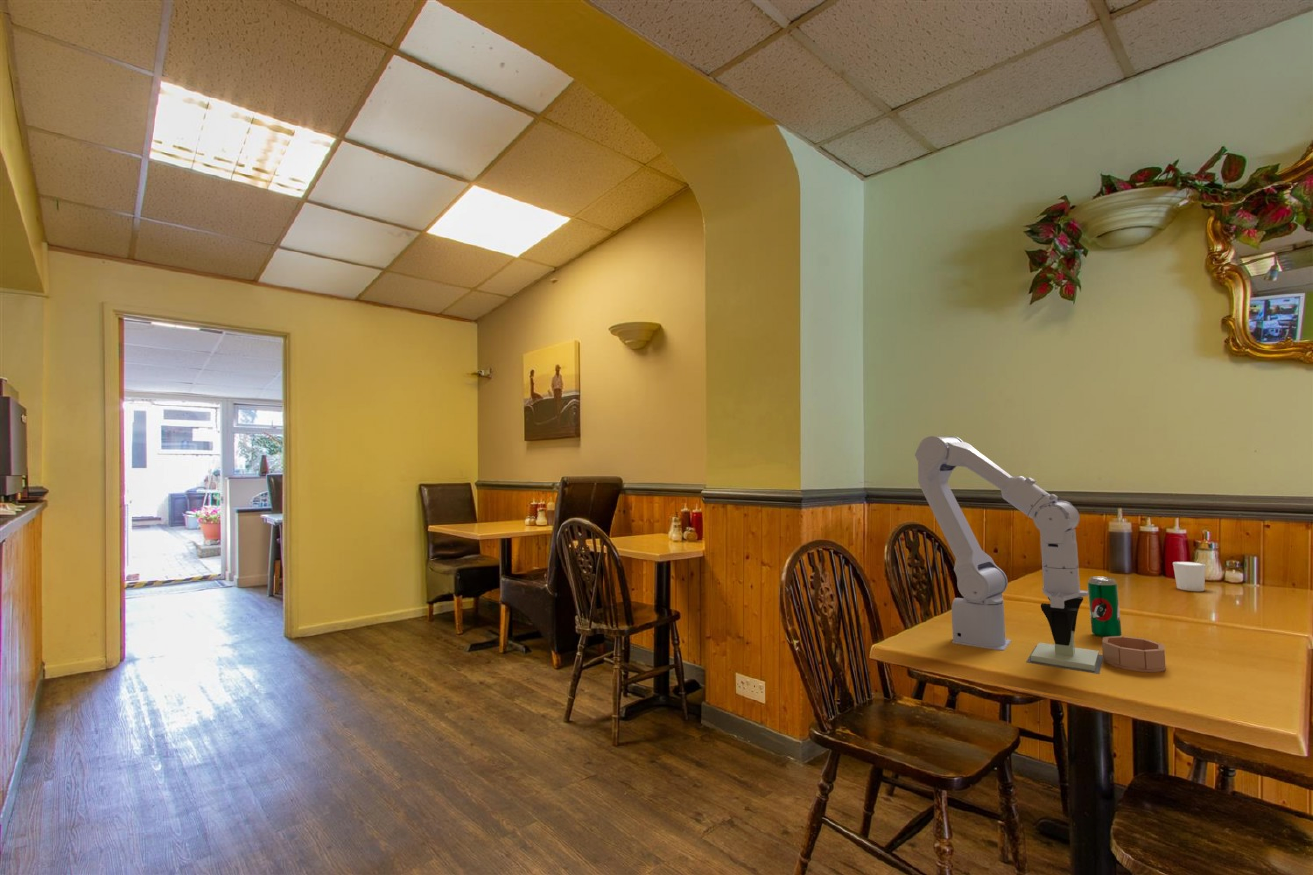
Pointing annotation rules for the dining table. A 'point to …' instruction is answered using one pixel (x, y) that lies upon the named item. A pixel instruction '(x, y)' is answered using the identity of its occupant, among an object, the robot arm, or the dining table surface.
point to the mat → (1071, 667)
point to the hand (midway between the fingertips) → (1064, 639)
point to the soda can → (1104, 607)
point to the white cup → (1189, 575)
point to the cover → (1066, 655)
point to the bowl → (1134, 653)
